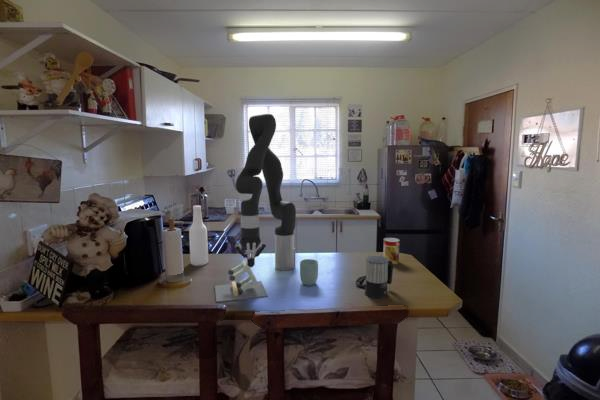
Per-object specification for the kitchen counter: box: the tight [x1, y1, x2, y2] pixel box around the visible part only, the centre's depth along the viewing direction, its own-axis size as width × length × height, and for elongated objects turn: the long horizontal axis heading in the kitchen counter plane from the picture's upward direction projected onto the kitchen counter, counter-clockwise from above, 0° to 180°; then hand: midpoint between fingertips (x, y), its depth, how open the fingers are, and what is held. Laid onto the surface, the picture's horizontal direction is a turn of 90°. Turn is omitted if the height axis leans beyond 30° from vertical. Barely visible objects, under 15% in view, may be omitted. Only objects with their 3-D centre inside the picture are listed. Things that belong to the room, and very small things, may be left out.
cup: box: [299, 258, 319, 287], centre depth 151 cm, size 8×8×10 cm
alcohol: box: [188, 204, 209, 267], centre depth 177 cm, size 9×9×30 cm
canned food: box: [382, 237, 400, 265], centre depth 181 cm, size 8×8×12 cm
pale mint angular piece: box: [227, 259, 258, 294], centre depth 143 cm, size 9×9×9 cm
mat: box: [214, 280, 269, 303], centre depth 143 cm, size 20×16×3 cm
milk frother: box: [355, 255, 394, 299], centre depth 144 cm, size 14×16×15 cm
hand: (250, 266), depth 143 cm, fingers closed
